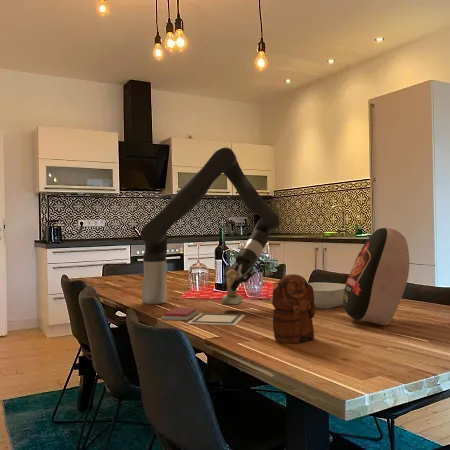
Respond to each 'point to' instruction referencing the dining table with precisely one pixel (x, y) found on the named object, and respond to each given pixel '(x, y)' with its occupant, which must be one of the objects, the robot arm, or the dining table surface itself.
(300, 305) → the wooden figurine
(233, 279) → the stamp
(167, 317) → the ink pad
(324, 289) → the square bowl
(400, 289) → the packaged food
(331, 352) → the dining table surface
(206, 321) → the print sheet
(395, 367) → the dining table surface
